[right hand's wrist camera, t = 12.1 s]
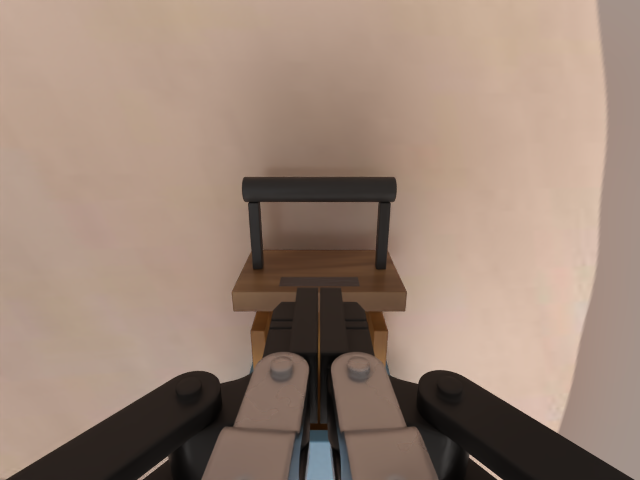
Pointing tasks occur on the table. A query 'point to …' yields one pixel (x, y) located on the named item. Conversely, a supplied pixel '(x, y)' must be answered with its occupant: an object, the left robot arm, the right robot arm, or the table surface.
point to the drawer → (319, 260)
